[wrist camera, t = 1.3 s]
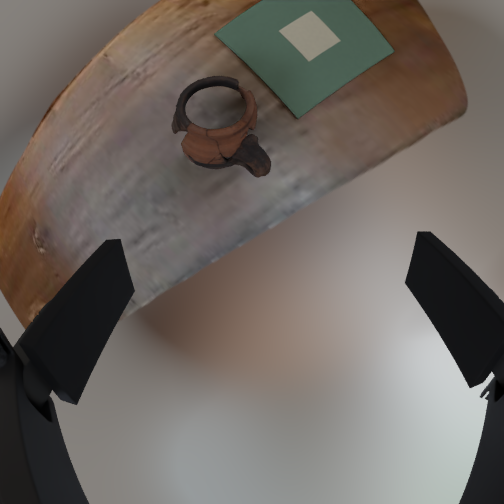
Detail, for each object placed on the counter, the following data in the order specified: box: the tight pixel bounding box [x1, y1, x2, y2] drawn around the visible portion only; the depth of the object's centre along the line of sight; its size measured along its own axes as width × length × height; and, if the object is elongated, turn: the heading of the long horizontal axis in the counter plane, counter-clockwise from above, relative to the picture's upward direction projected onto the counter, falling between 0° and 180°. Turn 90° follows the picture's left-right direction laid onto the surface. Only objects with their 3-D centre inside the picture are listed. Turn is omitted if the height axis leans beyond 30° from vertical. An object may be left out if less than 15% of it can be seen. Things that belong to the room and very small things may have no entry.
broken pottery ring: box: [172, 76, 271, 177], centre depth 26 cm, size 12×10×8 cm
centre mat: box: [214, 0, 395, 119], centre depth 23 cm, size 16×14×1 cm
